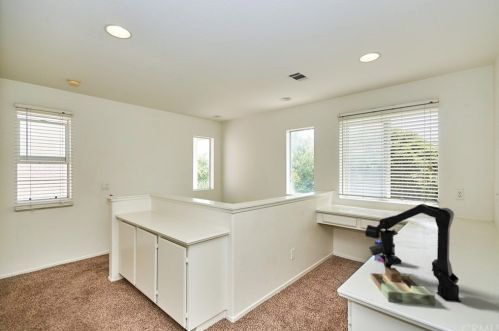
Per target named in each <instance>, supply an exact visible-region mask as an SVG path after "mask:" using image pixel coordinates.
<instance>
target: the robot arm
mask: <svg viewBox="0 0 499 331" xmlns="http://www.w3.org/2000/svg"><path fill="white" fill-rule="evenodd" d="M420 214H423V215H427V216H429V217H431V218H434V220H435V223H436V227H437V256H436V258H437V259H434V260H432V261H431V270H430V271H431V272H432V273H433V276H434V277H435V278H436V279H437V282H438V284H437V291H436V295H438V296H439V297H440V298H442V299H443V300H444V301H446V302H456V303H457V302H459V303H462V300H461V299H460V290H459V289H460V286H459V285H458V284H457V283H458V282H459V281H460V279H459V278H458V276H457V275H456V274H455V273H454V272H453V268H452V263H451V260H450V239H451V238H450V236H451V235H450V233H451V232H450V231H451V226H452V224H453V222H454V221H453V220H454V217H455V213H454V211H453V210H452V209H450V208H449V207H438V206H433V205H428V204H425V203H419V204H417V205H416V206H414V207H412V208H409V209H407V210H405V211H403V212H400V213H398V214H395V215H391V216H386V217H383V218H380V220H379V223H378V225H377V226H374V225H371V224H367V226H366V229H365V237H366V238H369V239H370V238H371V239H373V240H381V242H379V245H375V244H374V245H372V246H369V247H368V249H369V251H370V254H371V255H372V256H374V257H375V255H378V254H380V255H379V256H380V257H381V258H382V259H383V262H384V263H383V262H382V263H383V266H384V268H385V267H388V268H392V266H393V265H402V259H401V258H399V257H398V256H397V255H396V252H395V253H394V252H393V247H396V245H394V244H395V243H394V236H397V235H398V234H399V233H398V232H397V231H396V229H392V228H394V227H396V226H397V225H399V224H400V223H401V222H403V221H406V220H408V219H410V218H413V217H415V216H418V215H420ZM390 229H392V230H390ZM393 243H394V244H393ZM393 255H395V256H393Z"/></svg>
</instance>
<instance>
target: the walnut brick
mask: <svg viewBox="0 0 499 331" xmlns="http://www.w3.org/2000/svg"><path fill="white" fill-rule="evenodd" d="M384 271H385V272H384V274H385V275H386V276H387V277H388V279H389V280H390V281H391V282H401V275H402V273H401V272H400V271H399V270H397V269H396V267H391V268H388V267H385V266H384Z"/></svg>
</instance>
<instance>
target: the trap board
mask: <svg viewBox="0 0 499 331" xmlns="http://www.w3.org/2000/svg"><path fill="white" fill-rule="evenodd" d="M370 279H371V281H372V282H373V283H374V285H375V286H376V287H377V288H378V290H379V291H380V292H381V293H382V295H383V297H384V298H385V299H386V300H387V302H389V303H398V304H399V303H400V304H407V305H409V304H411V305H419V306H420V305H422V306H432V307H435V306H436V294H434V293H431V291H429V289H427V288H426V287H424V286H420V285H419V284H418V283H416V281H414V280H413V279H412V278H411V277H410V276H409V275H402V274H401V282H391V281H390V280H389V279H388V277H387V276H386V275H385V273H376V272H375V273H372V272H371V273H370Z"/></svg>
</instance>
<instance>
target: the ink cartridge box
mask: <svg viewBox="0 0 499 331" xmlns="http://www.w3.org/2000/svg"><path fill="white" fill-rule="evenodd" d="M379 242H381V239H375V241H374V246H375V245H379ZM393 244H394V245H395V243H394V242H393ZM395 247H396V245H395ZM395 247H393V252H394V253H395V255H393V256H396V252H395V249H396V248H395ZM379 255H380V254H378V255H375V256H374V261H377V262H380V263H383V264H384V262H383V259H382V258H381V257H380V256H379Z"/></svg>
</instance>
